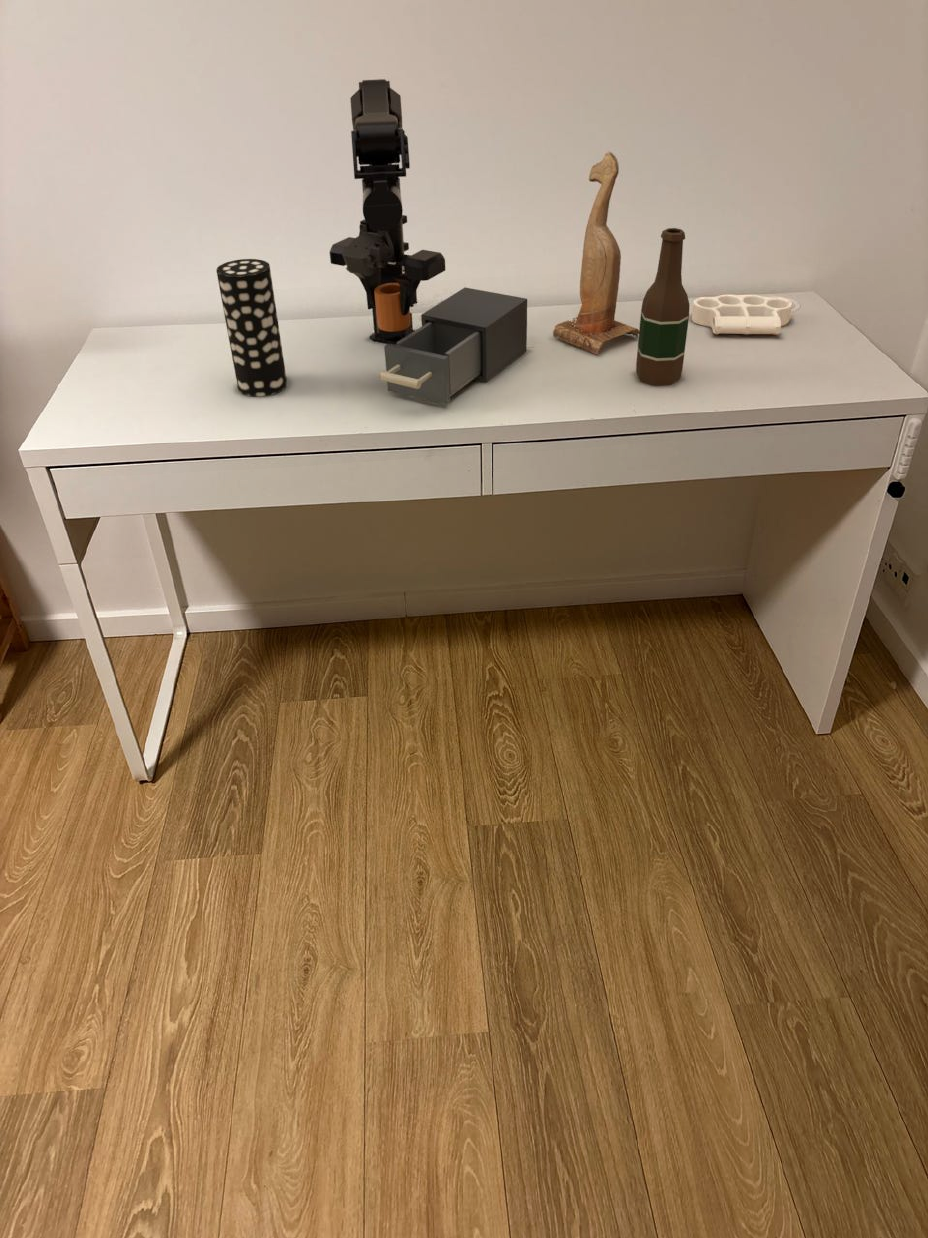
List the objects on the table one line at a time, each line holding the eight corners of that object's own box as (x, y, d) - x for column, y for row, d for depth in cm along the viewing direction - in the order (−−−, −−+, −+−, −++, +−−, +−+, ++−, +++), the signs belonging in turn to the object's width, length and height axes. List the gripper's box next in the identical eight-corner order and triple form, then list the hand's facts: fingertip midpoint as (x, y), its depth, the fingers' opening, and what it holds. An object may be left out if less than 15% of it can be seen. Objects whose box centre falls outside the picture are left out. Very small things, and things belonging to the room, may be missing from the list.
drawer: (430, 417, 152) (427, 370, 147) (370, 402, 157) (366, 357, 152) (487, 373, 164) (487, 329, 160) (430, 361, 169) (428, 317, 164)
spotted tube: (240, 377, 168) (219, 260, 156) (288, 374, 168) (271, 257, 156) (235, 398, 161) (213, 277, 149) (285, 394, 162) (267, 274, 149)
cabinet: (486, 382, 164) (486, 327, 158) (423, 368, 169) (420, 314, 163) (526, 351, 174) (527, 298, 168) (466, 338, 179) (464, 286, 173)
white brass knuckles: (696, 338, 176) (688, 308, 188) (797, 339, 175) (783, 308, 186) (698, 320, 174) (690, 291, 185) (800, 320, 173) (786, 291, 184)
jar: (371, 327, 159) (367, 292, 155) (389, 315, 163) (386, 280, 159) (398, 333, 157) (395, 297, 153) (416, 321, 160) (414, 285, 156)
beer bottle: (684, 370, 166) (703, 224, 151) (677, 389, 160) (695, 240, 145) (639, 364, 168) (653, 221, 153) (630, 383, 162) (643, 235, 147)
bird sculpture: (590, 322, 183) (600, 137, 163) (640, 338, 177) (657, 148, 157) (551, 339, 177) (557, 150, 157) (601, 357, 171) (614, 161, 151)
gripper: (302, 217, 147) (314, 318, 156) (404, 234, 139) (410, 339, 148) (346, 199, 154) (355, 296, 164) (445, 213, 146) (449, 315, 156)
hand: (390, 311), depth 158 cm, fingers closed on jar, 5 cm apart
